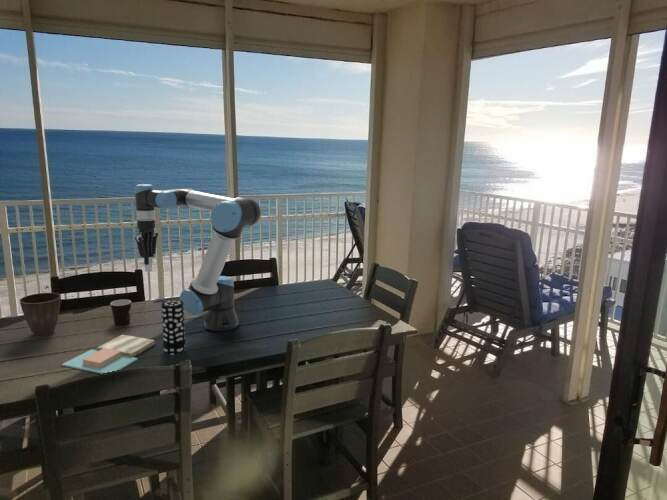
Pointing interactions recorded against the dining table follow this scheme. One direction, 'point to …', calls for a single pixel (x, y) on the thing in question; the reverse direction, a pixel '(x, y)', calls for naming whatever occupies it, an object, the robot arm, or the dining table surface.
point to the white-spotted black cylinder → (173, 327)
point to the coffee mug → (121, 312)
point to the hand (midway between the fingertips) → (148, 270)
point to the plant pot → (41, 312)
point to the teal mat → (109, 367)
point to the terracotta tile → (102, 357)
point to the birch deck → (128, 345)
